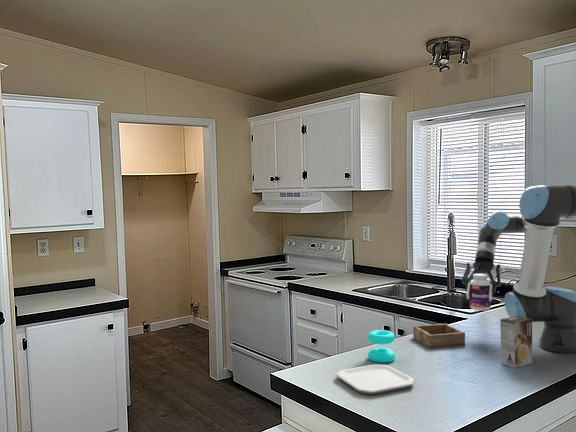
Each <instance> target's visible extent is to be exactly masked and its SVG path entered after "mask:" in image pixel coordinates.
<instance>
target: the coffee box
mask: <svg viewBox="0 0 576 432" xmlns="http://www.w3.org/2000/svg"><path fill="white" fill-rule="evenodd" d="M500 363H501V364H502V365H505V366H508V367H512V369H513V368H514V369H516V368H520V367H524V366H528V365H532V364H533V322H532V319H528V318H524V317H519V316H515V317H505V318H500Z"/></svg>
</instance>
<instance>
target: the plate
mask: <svg viewBox="0 0 576 432" xmlns="http://www.w3.org/2000/svg"><path fill="white" fill-rule="evenodd" d="M335 376H336V377H337V378H339V380H341V381H343V382H344V383H346V384H347V385H348V386H350V387H352V388H353V389H354V390H355V391H358V392H359V393H361V394H364V393H366V395H372V394H373V395H379V394H383V392H384V393H389V392H392V391H393V392H394V391H398V390H403V389H404V390H405V389H406V388H408V387H411V386H413V384H414V382H415V379H414V378H413V377H411V376H409V375H407V374H405V373H403V372H402V371H399V370H397V369H396V368H394V367H392V366H390V365H387V364H381V363H380V364H379V363H376V364H369V365H362V366H357V367H353V368H348V369H347V368H346V369H341V370H339V371H338V373H336V375H335ZM378 393H379V394H378Z"/></svg>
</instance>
